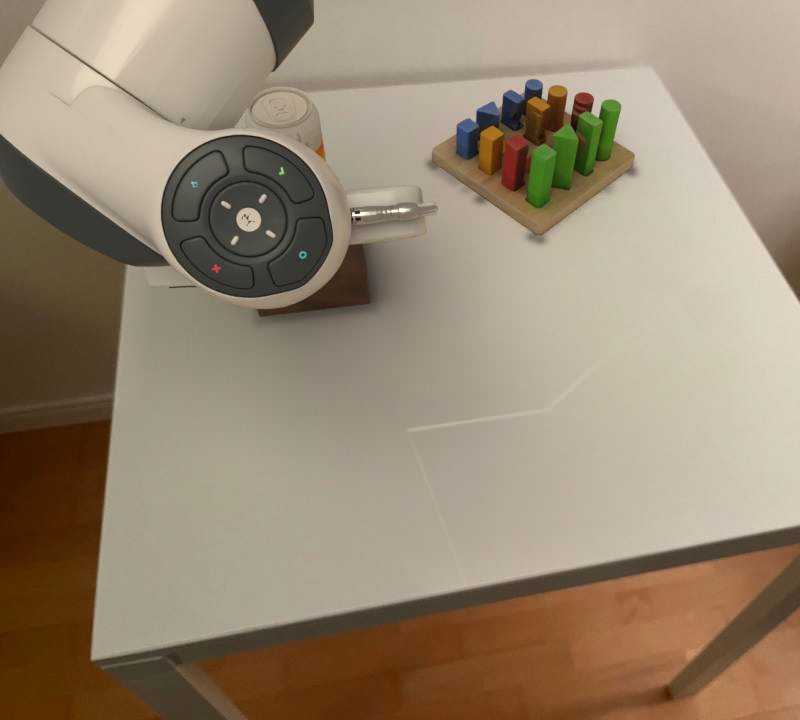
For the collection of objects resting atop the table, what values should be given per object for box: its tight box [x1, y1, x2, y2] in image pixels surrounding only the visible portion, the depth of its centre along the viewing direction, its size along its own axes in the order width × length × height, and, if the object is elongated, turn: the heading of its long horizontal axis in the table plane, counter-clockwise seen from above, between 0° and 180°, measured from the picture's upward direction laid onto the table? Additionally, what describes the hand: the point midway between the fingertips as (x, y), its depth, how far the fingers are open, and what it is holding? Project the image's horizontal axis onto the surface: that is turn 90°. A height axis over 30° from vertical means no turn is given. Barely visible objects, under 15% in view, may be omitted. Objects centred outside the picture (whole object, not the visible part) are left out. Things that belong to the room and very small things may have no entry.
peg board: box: [431, 78, 636, 236], centre depth 85 cm, size 18×17×9 cm
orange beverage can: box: [244, 86, 327, 163], centre depth 67 cm, size 6×6×15 cm
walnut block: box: [256, 243, 371, 317], centre depth 75 cm, size 11×11×5 cm
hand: (293, 225), depth 60 cm, fingers open, 8 cm apart
